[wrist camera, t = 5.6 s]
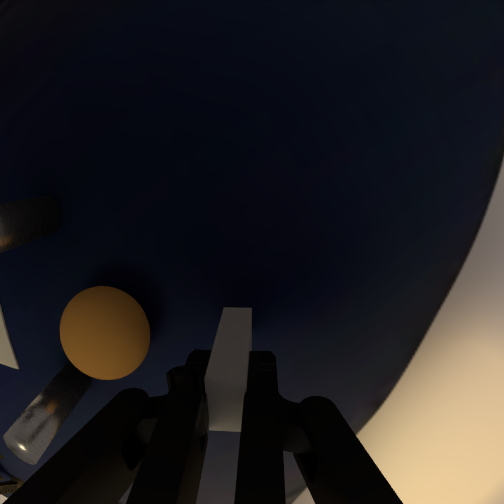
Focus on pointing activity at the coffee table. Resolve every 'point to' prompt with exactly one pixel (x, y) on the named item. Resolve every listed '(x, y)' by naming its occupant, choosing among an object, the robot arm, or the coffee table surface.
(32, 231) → the post
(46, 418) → the post
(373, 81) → the coffee table surface
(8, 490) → the eiffel tower
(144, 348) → the ball
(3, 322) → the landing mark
